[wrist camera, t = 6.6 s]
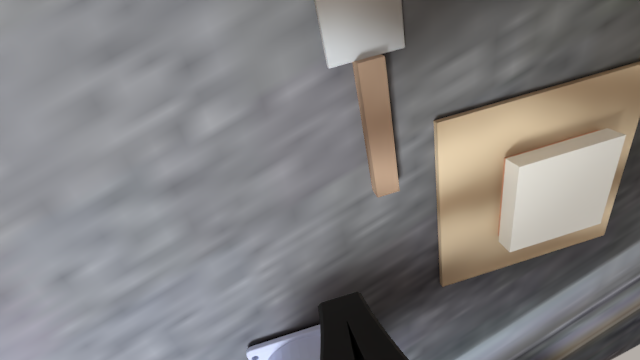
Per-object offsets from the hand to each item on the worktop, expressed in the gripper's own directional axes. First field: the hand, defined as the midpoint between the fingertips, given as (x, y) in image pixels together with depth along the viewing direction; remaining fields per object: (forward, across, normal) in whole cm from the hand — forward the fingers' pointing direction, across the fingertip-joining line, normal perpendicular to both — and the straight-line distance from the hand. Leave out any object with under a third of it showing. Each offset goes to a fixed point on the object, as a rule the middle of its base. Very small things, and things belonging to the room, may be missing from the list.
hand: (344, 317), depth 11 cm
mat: (+10, -15, +6) cm, 19 cm away
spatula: (+10, -5, -5) cm, 12 cm away
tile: (+9, -13, +6) cm, 16 cm away
